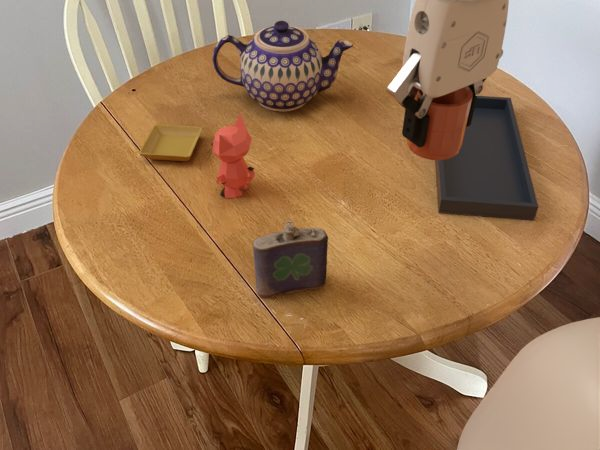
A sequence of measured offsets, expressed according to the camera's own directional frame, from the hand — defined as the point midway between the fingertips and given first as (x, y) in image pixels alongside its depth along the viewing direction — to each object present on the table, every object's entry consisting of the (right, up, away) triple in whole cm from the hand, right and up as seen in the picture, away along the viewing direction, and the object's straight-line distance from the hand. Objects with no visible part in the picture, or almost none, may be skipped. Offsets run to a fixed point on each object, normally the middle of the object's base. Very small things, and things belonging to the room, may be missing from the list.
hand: (436, 129), depth 67 cm
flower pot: (0, -1, +1) cm, 2 cm away
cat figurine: (-25, -6, +24) cm, 35 cm away
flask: (-17, -19, +9) cm, 27 cm away
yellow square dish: (-37, +2, +31) cm, 48 cm away
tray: (+13, 0, +29) cm, 32 cm away
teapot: (-19, +13, +43) cm, 49 cm away
